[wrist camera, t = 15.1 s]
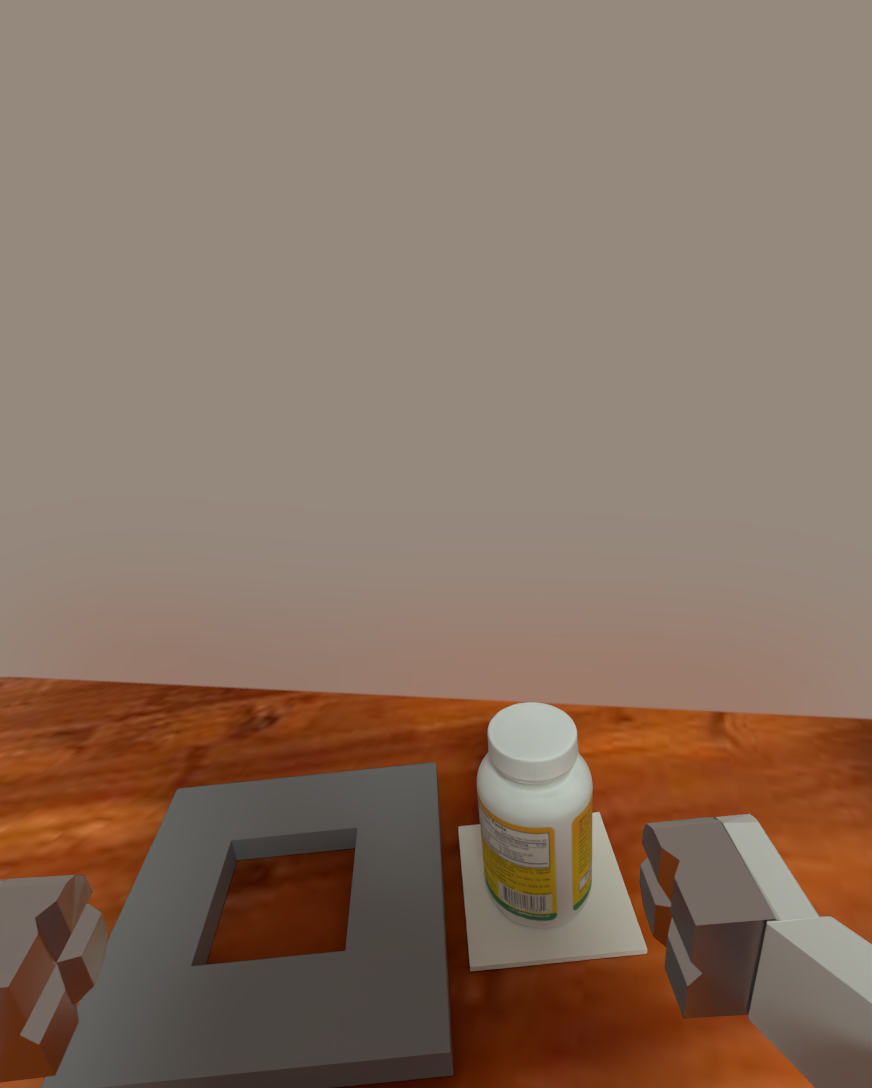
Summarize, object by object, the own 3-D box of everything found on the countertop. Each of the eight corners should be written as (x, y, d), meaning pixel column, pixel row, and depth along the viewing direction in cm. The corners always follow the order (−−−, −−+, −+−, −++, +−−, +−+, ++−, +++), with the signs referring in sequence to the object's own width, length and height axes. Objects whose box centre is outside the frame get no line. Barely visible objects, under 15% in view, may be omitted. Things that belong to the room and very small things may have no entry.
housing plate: (50, 1115, 25) (38, 1093, 25) (183, 807, 40) (177, 788, 40) (453, 1075, 25) (450, 1052, 25) (438, 780, 40) (435, 762, 39)
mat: (470, 971, 29) (470, 967, 29) (458, 830, 36) (458, 826, 36) (647, 953, 29) (647, 949, 29) (599, 815, 36) (599, 812, 36)
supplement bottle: (513, 949, 29) (500, 788, 26) (469, 859, 34) (453, 712, 30) (615, 906, 31) (617, 748, 27) (559, 825, 36) (554, 681, 32)
